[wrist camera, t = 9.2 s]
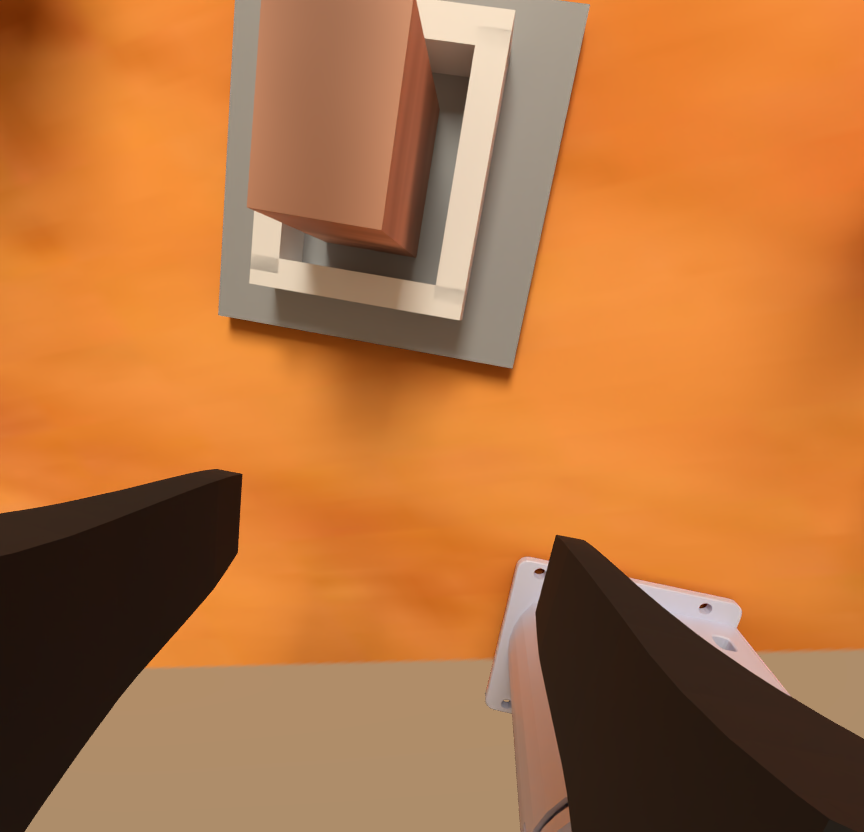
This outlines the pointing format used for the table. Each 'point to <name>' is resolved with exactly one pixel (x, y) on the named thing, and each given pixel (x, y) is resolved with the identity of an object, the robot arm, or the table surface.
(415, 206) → the block
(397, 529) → the table surface
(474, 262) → the grey framed tray
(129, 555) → the robot arm
